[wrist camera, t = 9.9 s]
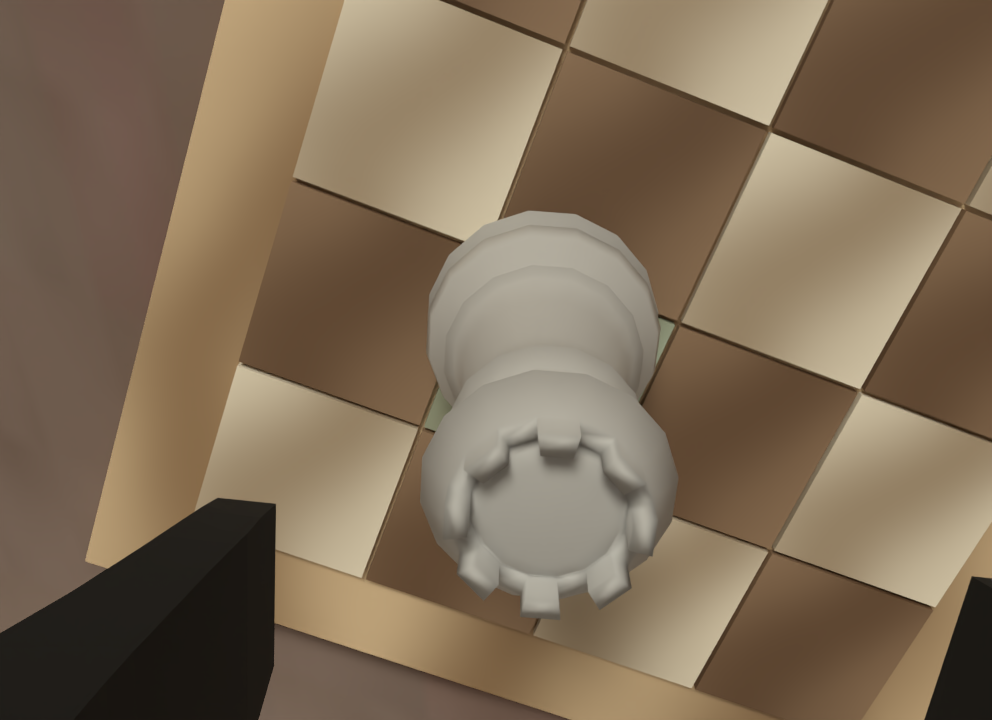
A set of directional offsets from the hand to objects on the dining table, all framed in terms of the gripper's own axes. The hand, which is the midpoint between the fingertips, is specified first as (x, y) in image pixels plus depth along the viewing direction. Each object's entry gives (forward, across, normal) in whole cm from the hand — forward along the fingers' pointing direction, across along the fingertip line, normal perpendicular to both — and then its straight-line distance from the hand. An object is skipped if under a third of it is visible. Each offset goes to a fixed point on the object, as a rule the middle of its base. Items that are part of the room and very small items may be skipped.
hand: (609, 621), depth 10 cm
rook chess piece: (+10, +1, 0) cm, 10 cm away
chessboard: (+10, -2, 0) cm, 10 cm away
